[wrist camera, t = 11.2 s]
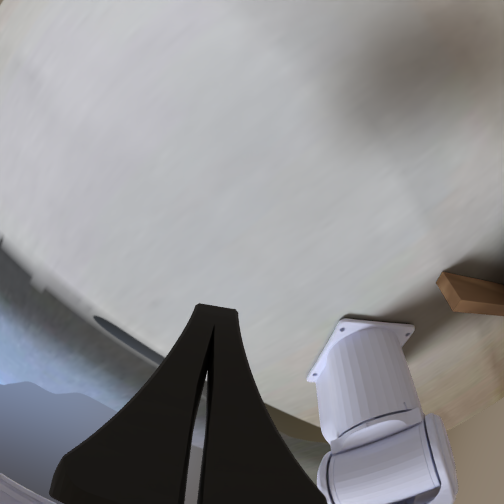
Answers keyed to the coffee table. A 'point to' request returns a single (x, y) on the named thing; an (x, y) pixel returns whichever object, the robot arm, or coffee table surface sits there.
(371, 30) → the coffee table surface
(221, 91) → the coffee table surface
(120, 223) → the coffee table surface
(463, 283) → the cradle
